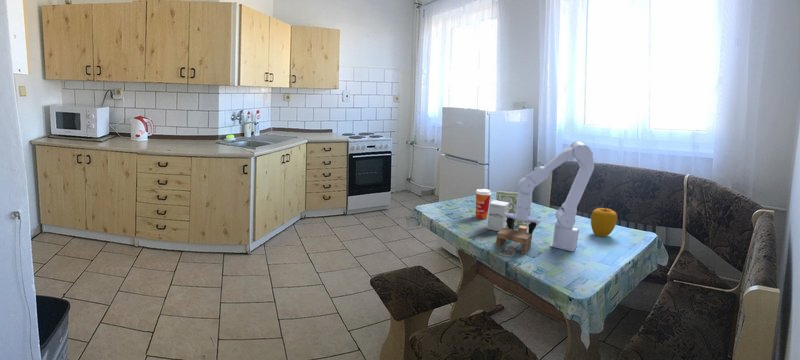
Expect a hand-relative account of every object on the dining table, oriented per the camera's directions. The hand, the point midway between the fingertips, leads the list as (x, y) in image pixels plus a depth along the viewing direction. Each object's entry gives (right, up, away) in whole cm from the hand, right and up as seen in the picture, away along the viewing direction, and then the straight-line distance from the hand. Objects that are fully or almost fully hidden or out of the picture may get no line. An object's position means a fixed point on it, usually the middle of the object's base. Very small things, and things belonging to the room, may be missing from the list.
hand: (520, 237), depth 192 cm
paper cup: (-11, +5, +32) cm, 34 cm away
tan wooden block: (-2, -3, -3) cm, 5 cm away
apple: (+41, -1, +14) cm, 43 cm away
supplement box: (-6, +2, +16) cm, 18 cm away
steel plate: (-9, -5, -13) cm, 16 cm away
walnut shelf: (-5, -4, -7) cm, 9 cm away
